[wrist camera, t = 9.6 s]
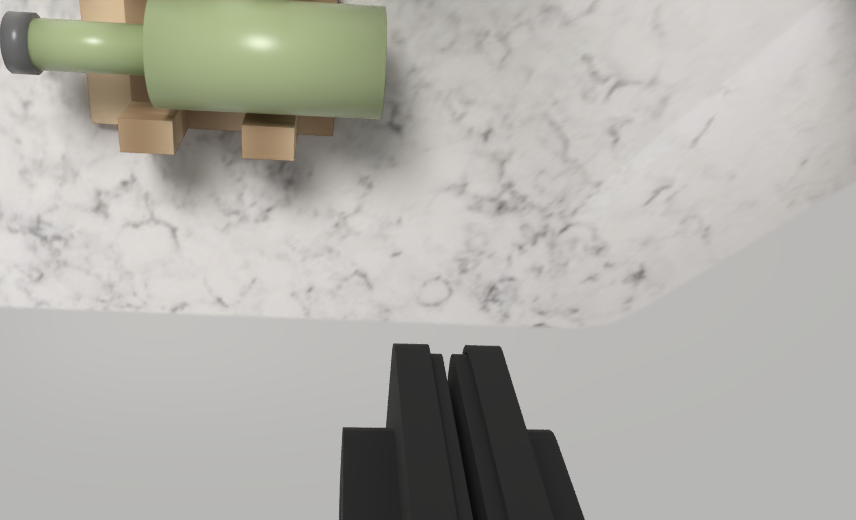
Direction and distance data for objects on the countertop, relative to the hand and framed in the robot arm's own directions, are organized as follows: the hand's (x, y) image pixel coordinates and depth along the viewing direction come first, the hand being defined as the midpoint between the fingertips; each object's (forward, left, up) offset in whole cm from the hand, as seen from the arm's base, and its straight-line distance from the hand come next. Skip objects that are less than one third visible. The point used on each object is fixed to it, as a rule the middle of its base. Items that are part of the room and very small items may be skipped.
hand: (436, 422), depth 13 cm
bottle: (0, +1, -27) cm, 27 cm away
